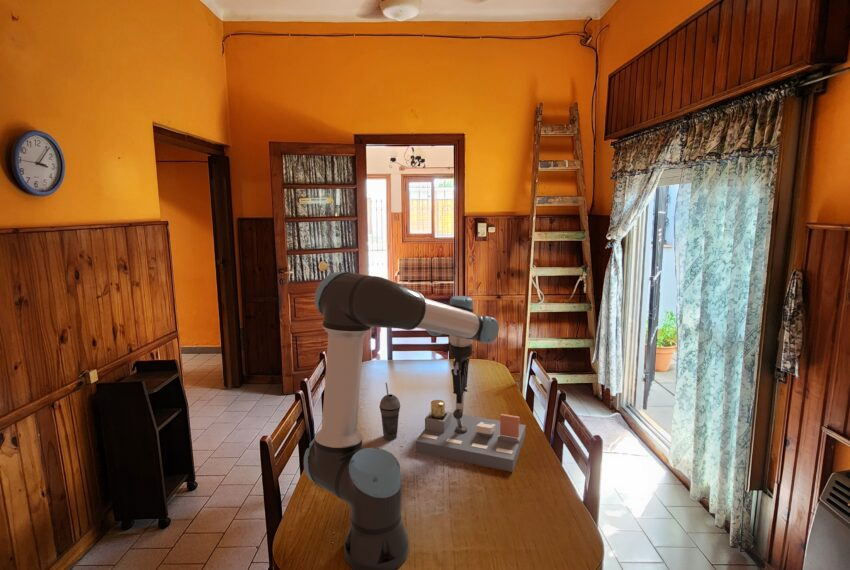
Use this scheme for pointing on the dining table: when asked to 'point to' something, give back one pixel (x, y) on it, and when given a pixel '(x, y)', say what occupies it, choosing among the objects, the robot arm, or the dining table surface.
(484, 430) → the block
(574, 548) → the dining table surface
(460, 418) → the toggle lever
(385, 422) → the beverage cup
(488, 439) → the console
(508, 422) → the red square plate
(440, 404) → the push button
